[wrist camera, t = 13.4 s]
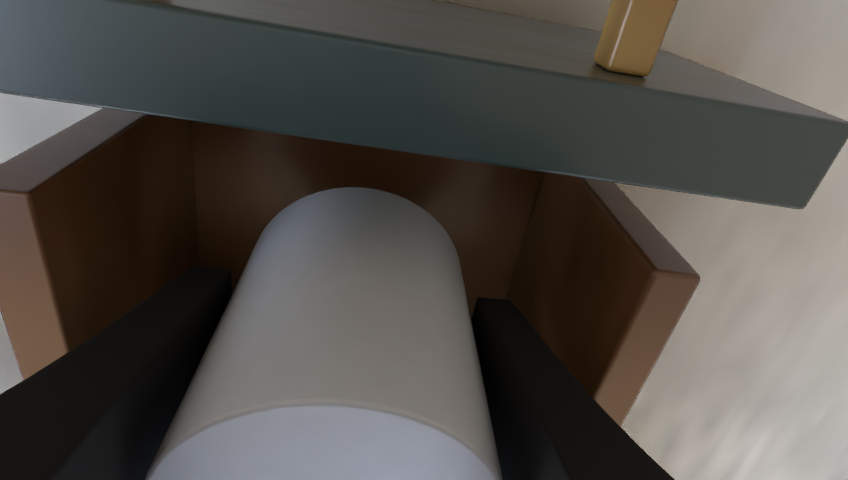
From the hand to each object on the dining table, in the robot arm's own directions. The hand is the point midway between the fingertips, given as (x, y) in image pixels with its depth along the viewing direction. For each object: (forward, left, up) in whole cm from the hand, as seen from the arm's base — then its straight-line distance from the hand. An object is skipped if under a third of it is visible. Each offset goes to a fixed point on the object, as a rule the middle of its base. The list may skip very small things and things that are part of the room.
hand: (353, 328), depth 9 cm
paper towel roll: (0, 0, -1) cm, 1 cm away
